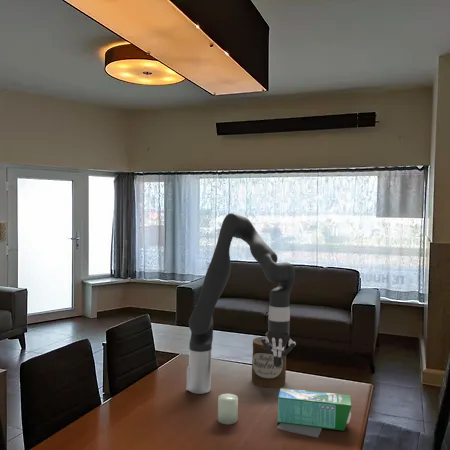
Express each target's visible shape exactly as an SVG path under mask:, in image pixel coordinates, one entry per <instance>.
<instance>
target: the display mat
mask: <svg viewBox="0 0 450 450" xmlns="http://www.w3.org/2000/svg"><path fill="white" fill-rule="evenodd" d="M276 429H277V430H280V431H285V432H289V433H293V434H298V435H303V436H308V437H312V438H316V439H319V436H320V434H321V432H322V430H323V428H318V427H310V426H302V425H294V424H286V423H279V424H278V426H277V427H276Z"/></svg>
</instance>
